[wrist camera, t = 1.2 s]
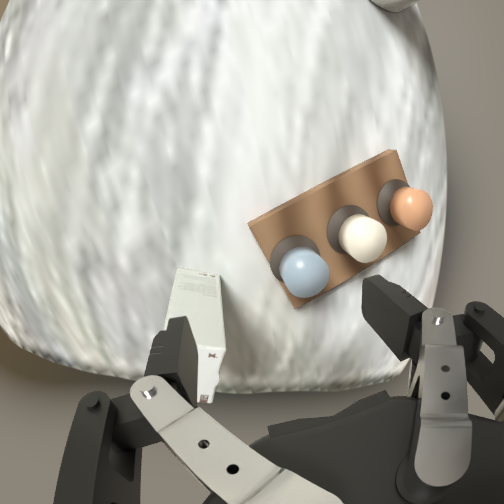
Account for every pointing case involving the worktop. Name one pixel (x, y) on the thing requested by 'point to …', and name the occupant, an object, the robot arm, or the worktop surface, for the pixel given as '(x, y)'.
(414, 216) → the button terracotta
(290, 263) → the button slate
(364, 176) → the board
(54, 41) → the worktop surface
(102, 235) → the worktop surface
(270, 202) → the worktop surface
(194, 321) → the skincare box
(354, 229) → the button cream
